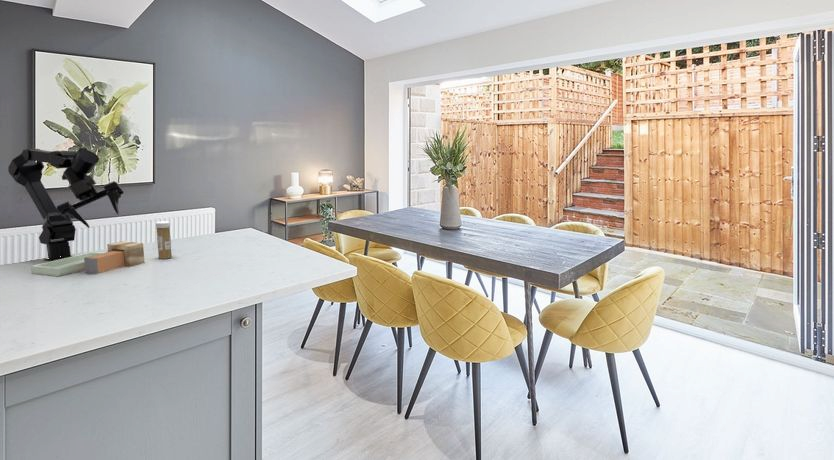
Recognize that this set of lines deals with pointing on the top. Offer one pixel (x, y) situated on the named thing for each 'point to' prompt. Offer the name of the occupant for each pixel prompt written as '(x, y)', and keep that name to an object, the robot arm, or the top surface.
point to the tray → (62, 265)
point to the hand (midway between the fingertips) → (103, 220)
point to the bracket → (129, 251)
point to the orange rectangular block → (104, 261)
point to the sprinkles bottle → (163, 239)
